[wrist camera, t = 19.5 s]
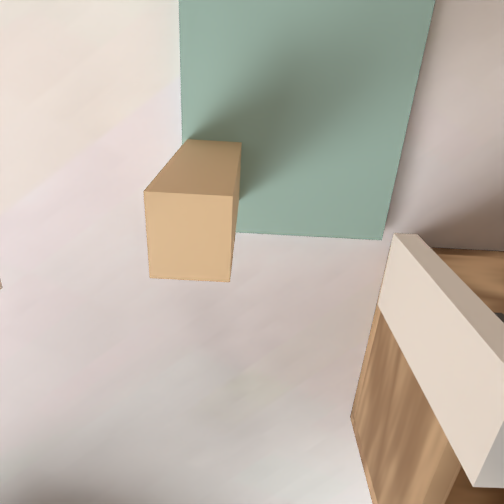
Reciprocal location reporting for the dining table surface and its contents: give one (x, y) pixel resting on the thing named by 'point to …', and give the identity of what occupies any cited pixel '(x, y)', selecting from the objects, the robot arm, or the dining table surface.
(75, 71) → the dining table surface
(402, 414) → the toolbox
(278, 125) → the lid
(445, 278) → the robot arm
